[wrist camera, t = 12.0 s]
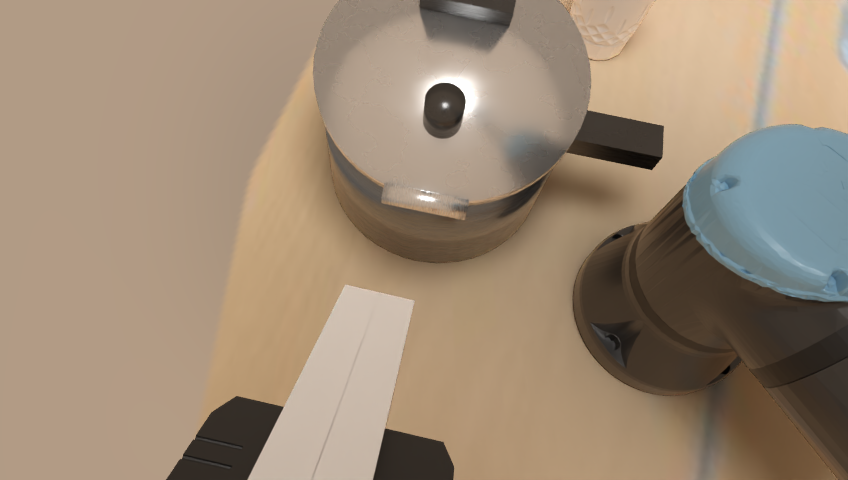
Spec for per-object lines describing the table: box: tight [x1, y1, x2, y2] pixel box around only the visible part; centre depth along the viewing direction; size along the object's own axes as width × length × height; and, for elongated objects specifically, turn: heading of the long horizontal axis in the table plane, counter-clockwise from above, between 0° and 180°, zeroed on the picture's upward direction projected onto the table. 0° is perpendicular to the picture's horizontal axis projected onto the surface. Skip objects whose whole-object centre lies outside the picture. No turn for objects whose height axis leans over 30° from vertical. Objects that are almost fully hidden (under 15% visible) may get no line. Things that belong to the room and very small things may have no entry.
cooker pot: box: [325, 110, 664, 263], centre depth 53 cm, size 28×20×12 cm
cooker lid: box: [313, 0, 591, 220], centre depth 44 cm, size 21×21×4 cm
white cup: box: [570, 0, 655, 60], centre depth 62 cm, size 8×8×10 cm
